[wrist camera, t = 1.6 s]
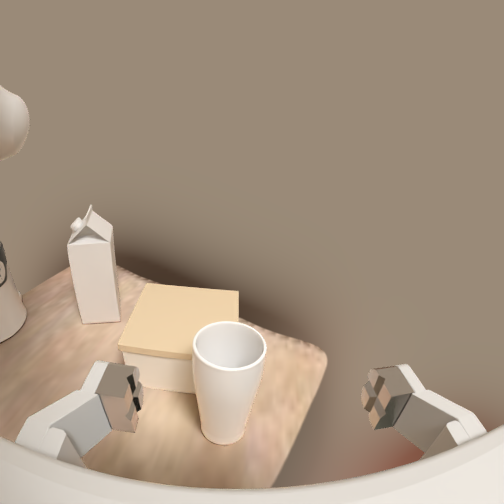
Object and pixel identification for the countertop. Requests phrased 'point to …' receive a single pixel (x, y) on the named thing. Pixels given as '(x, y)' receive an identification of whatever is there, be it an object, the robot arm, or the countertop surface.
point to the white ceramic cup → (226, 377)
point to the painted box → (171, 332)
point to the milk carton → (94, 269)
